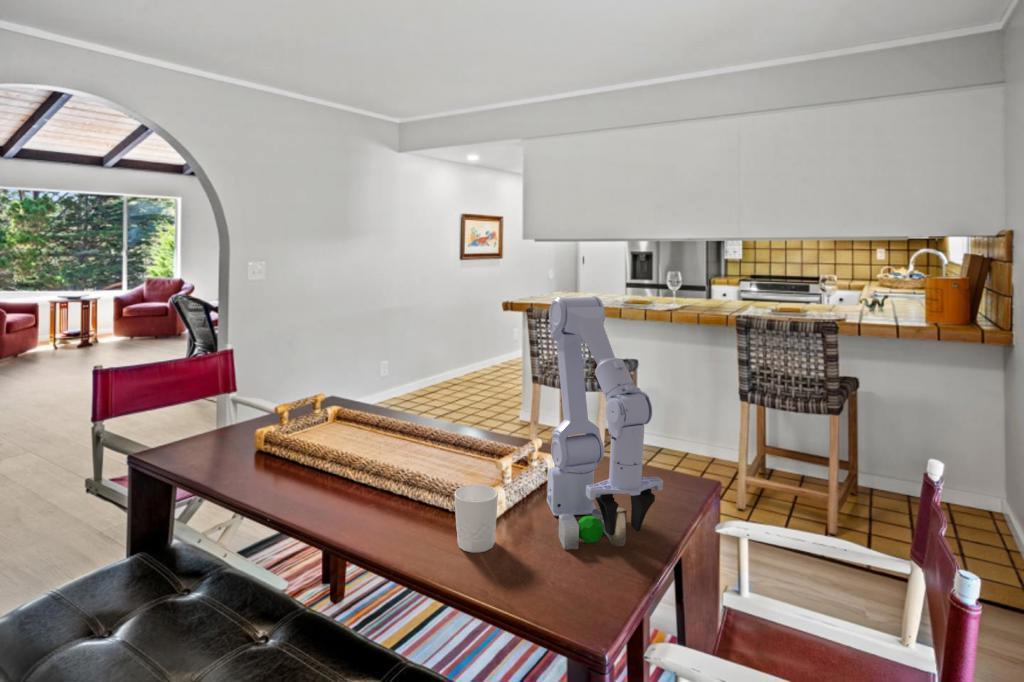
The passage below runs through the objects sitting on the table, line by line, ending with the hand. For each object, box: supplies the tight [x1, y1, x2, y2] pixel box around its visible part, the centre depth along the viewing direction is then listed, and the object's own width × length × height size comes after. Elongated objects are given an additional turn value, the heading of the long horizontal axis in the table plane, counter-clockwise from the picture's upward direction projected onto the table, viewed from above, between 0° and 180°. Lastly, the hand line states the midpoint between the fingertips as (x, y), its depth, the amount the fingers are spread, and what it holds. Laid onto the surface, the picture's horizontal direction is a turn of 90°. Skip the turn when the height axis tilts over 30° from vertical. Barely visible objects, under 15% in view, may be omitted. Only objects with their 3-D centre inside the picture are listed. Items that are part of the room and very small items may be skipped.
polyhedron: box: [577, 515, 604, 544], centre depth 114 cm, size 5×5×5 cm
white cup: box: [453, 483, 499, 553], centre depth 112 cm, size 8×8×10 cm
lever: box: [591, 506, 628, 547], centre depth 115 cm, size 12×4×6 cm, turn 10°
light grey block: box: [557, 513, 580, 550], centre depth 113 cm, size 3×5×4 cm, turn 8°
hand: (622, 530), depth 111 cm, fingers open, 5 cm apart
